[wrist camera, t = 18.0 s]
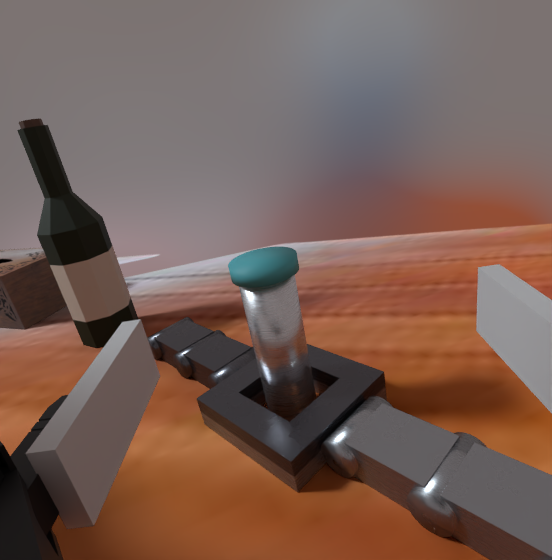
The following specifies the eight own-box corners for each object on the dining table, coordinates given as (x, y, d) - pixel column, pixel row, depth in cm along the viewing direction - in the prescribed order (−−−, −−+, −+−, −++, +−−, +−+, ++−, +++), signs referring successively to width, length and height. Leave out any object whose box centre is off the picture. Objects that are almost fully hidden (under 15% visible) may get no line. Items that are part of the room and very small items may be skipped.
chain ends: (589, 705, 17) (598, 667, 16) (127, 367, 49) (119, 347, 48) (635, 502, 24) (643, 465, 23) (206, 324, 57) (200, 305, 56)
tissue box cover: (91, 293, 79) (72, 245, 76) (25, 330, 67) (-1, 276, 64) (9, 292, 90) (-10, 250, 86) (-59, 324, 78) (-86, 277, 74)
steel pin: (295, 443, 33) (260, 277, 28) (253, 417, 37) (214, 266, 31) (335, 406, 36) (310, 250, 31) (292, 386, 40) (264, 244, 35)
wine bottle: (147, 329, 59) (71, 111, 47) (89, 355, 54) (-9, 122, 43) (131, 313, 65) (61, 118, 54) (78, 335, 61) (-10, 129, 50)
